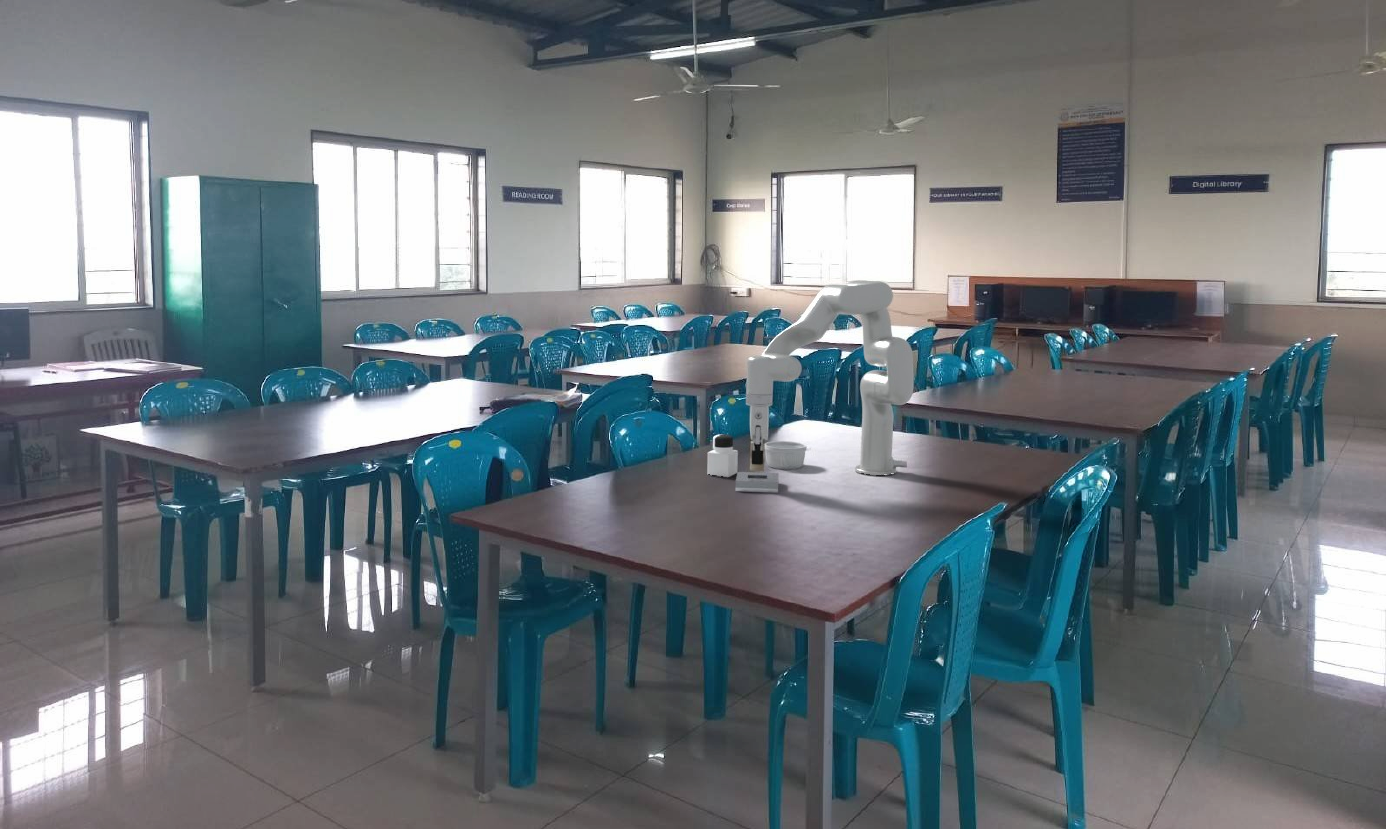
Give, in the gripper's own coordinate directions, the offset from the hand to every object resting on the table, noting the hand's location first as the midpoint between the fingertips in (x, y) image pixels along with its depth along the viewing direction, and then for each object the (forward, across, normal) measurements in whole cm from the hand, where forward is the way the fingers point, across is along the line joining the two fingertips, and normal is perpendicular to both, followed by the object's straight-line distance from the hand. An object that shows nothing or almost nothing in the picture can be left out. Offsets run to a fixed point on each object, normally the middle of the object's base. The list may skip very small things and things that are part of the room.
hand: (757, 462), depth 296 cm
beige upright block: (+2, 0, 0) cm, 2 cm away
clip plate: (+7, 0, 0) cm, 7 cm away
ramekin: (+7, +31, -8) cm, 33 cm away
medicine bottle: (+8, +16, +11) cm, 21 cm away
